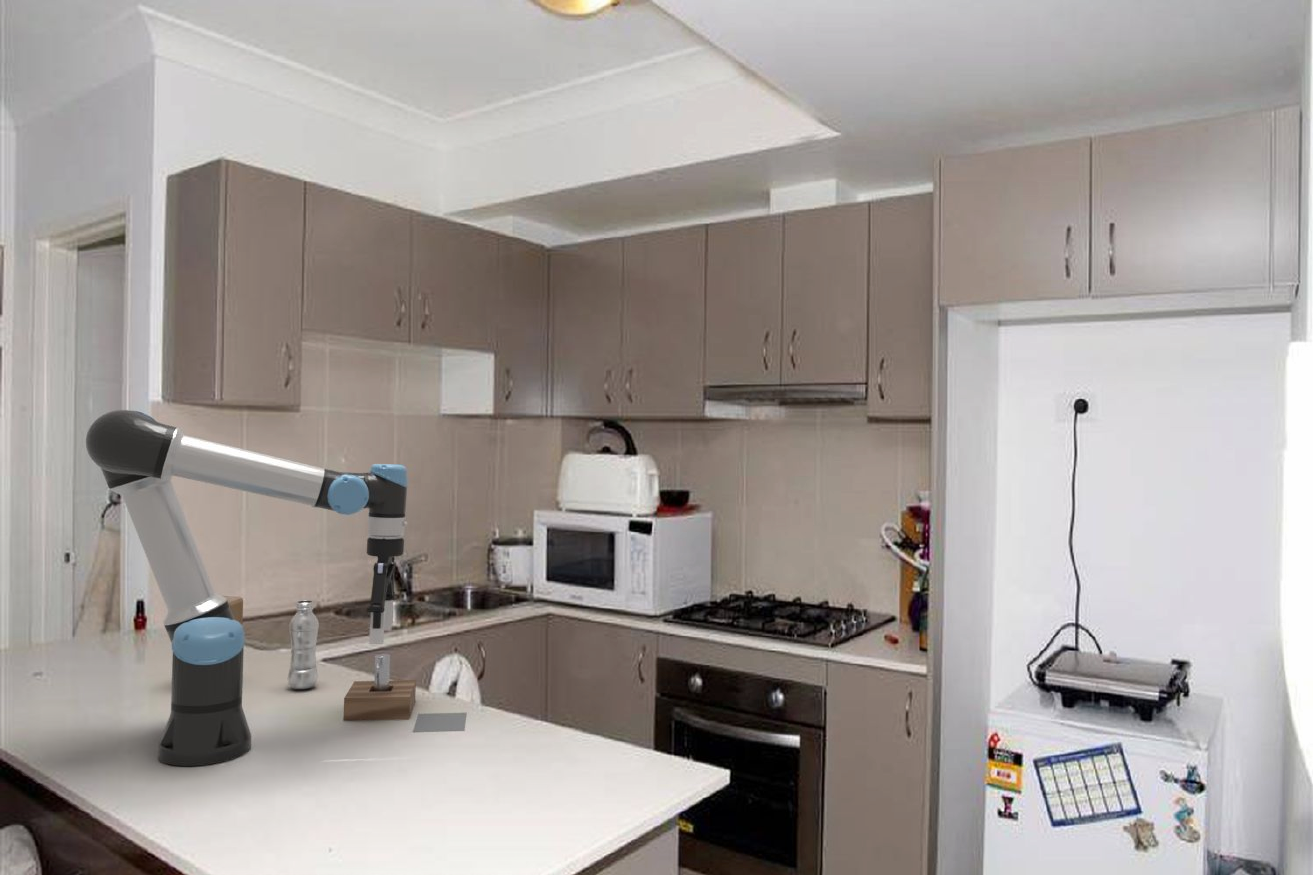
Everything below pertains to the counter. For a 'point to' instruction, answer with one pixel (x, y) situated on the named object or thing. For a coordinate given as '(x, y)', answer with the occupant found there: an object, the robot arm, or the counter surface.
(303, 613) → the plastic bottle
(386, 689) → the steel pin
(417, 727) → the rubber mat
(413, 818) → the counter surface
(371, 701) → the walnut socket block
